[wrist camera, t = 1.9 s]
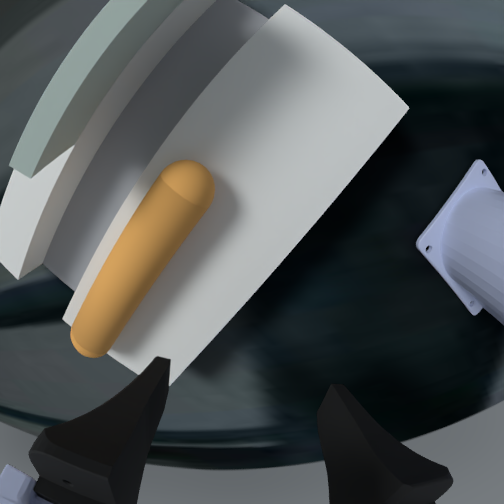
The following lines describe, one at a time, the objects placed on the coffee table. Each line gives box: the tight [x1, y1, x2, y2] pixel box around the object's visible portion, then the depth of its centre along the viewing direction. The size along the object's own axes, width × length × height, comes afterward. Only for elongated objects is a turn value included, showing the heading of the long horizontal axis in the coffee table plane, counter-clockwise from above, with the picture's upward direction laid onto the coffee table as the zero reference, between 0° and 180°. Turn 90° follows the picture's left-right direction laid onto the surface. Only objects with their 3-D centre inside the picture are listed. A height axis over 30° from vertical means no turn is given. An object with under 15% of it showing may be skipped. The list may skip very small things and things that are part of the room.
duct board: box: [0, 0, 409, 386], centre depth 15 cm, size 15×21×4 cm
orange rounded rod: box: [71, 160, 215, 358], centre depth 14 cm, size 2×12×2 cm, turn 142°
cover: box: [9, 0, 184, 179], centre depth 9 cm, size 6×10×1 cm
